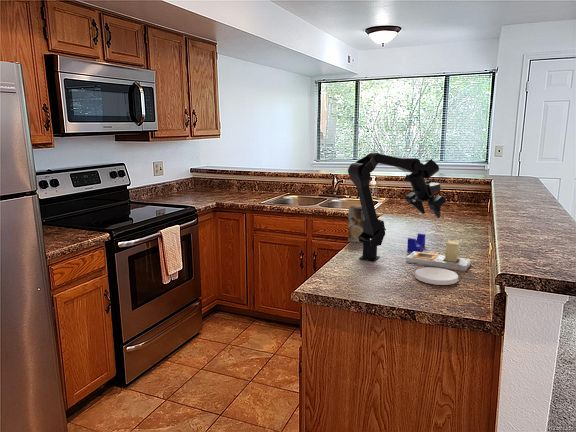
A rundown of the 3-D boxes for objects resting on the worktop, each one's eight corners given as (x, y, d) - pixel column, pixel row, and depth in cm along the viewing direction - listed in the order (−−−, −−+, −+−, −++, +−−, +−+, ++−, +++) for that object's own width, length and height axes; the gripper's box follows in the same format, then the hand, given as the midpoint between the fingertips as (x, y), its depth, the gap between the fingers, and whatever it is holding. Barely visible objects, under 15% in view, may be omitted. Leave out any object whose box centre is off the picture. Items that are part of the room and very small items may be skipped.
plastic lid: (466, 286, 144) (466, 278, 143) (428, 289, 141) (428, 281, 141) (443, 272, 157) (443, 266, 157) (407, 275, 154) (408, 268, 154)
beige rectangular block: (455, 267, 163) (457, 244, 161) (444, 265, 165) (446, 242, 163) (457, 264, 166) (459, 242, 164) (447, 263, 168) (448, 240, 166)
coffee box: (369, 240, 204) (370, 206, 201) (367, 243, 198) (368, 208, 195) (350, 238, 207) (351, 205, 204) (347, 241, 201) (348, 207, 198)
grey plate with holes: (465, 271, 158) (466, 265, 158) (406, 261, 169) (406, 256, 169) (470, 264, 166) (470, 258, 166) (413, 255, 178) (413, 250, 177)
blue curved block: (417, 253, 182) (418, 239, 180) (407, 251, 184) (407, 238, 183) (428, 247, 191) (428, 234, 190) (418, 246, 194) (418, 233, 192)
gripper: (449, 177, 172) (461, 208, 178) (417, 172, 189) (429, 201, 195) (429, 192, 169) (442, 224, 175) (399, 186, 186) (411, 215, 192)
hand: (431, 215), depth 184 cm, fingers open, 9 cm apart
